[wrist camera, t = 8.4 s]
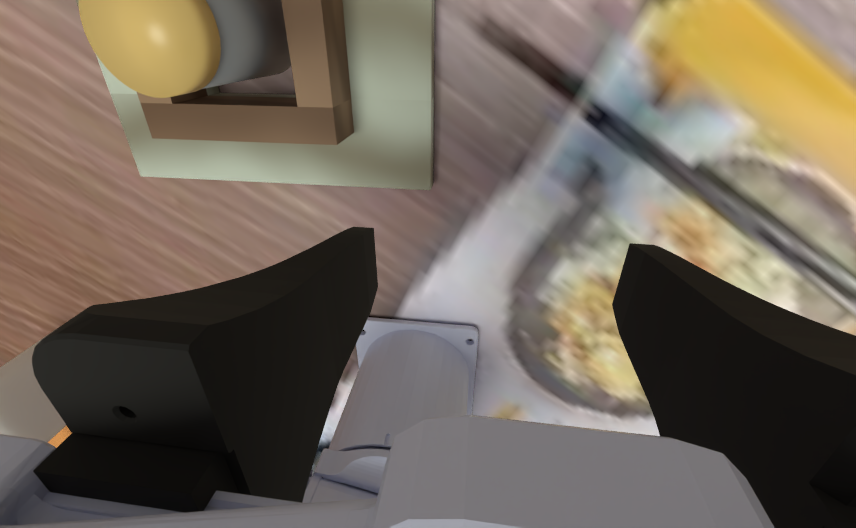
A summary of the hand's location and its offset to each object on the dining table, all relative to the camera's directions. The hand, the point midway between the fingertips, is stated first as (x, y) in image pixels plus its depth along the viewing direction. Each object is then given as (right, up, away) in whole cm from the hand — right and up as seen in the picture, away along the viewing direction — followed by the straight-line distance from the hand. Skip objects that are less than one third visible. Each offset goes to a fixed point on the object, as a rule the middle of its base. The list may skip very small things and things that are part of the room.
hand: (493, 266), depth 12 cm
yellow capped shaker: (-10, +11, +7) cm, 16 cm away
